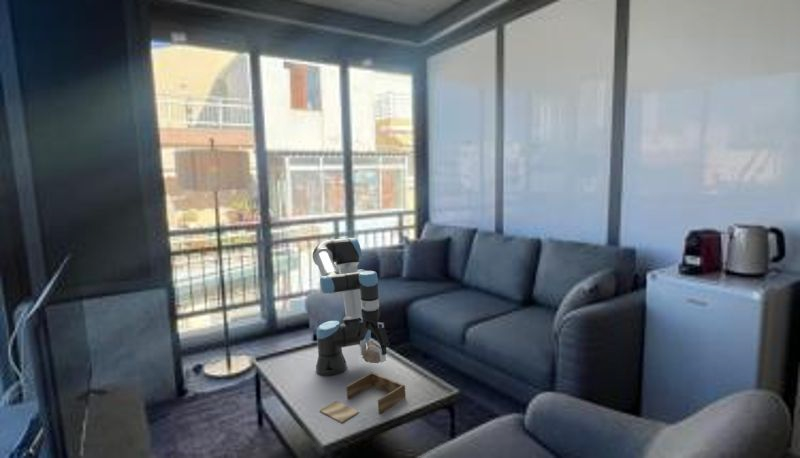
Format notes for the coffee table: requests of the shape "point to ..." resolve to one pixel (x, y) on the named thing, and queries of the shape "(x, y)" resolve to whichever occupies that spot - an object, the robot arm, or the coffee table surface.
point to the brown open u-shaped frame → (392, 387)
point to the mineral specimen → (371, 353)
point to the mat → (339, 411)
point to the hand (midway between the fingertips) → (373, 357)
